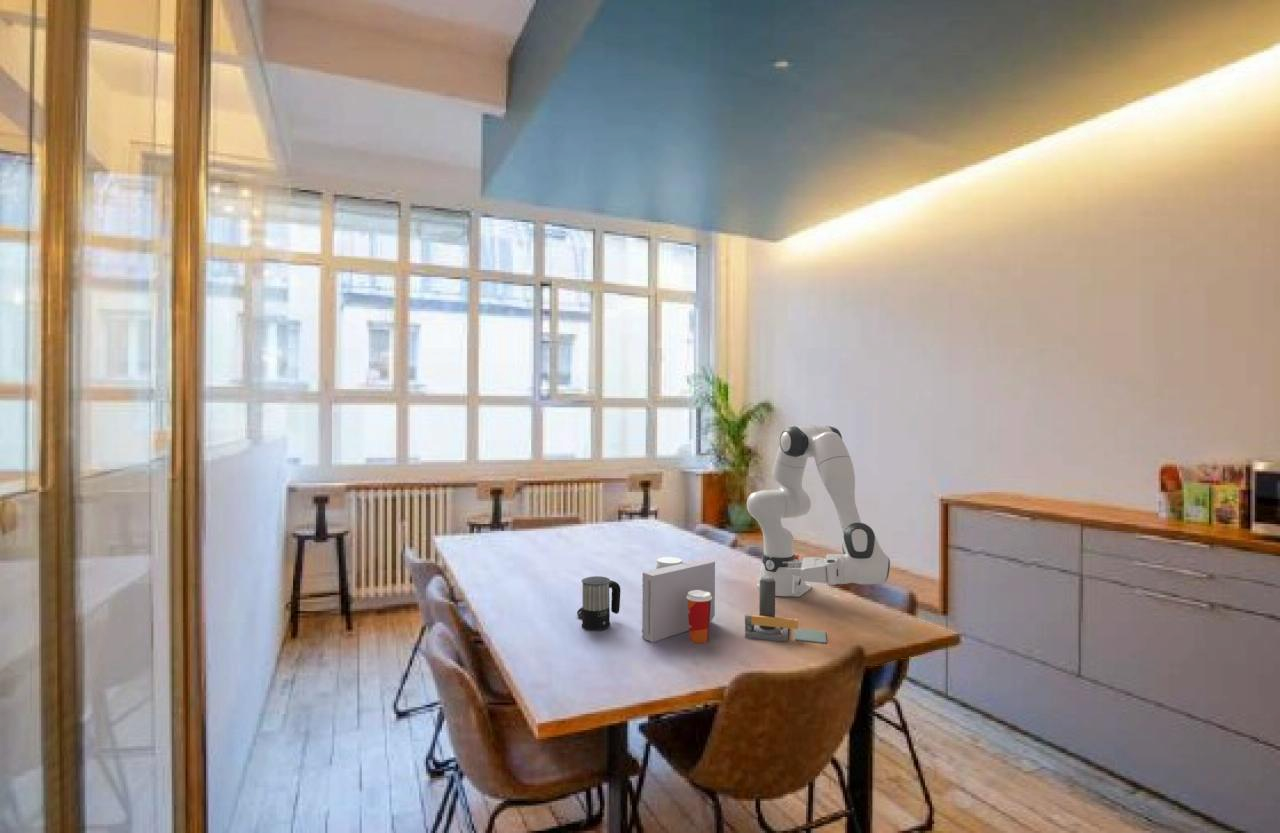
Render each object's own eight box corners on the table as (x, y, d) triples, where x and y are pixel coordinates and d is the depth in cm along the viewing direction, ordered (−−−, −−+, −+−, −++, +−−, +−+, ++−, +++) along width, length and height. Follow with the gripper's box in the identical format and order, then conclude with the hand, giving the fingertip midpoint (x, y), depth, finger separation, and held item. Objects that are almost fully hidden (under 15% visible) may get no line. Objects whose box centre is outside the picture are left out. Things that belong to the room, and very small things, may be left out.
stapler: (744, 624, 184) (744, 616, 184) (745, 622, 186) (745, 613, 186) (797, 629, 180) (797, 620, 180) (797, 627, 182) (797, 618, 182)
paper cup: (695, 633, 186) (695, 587, 186) (716, 639, 181) (716, 592, 181) (680, 640, 180) (681, 593, 180) (702, 646, 175) (702, 598, 175)
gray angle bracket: (748, 623, 194) (748, 619, 194) (788, 627, 191) (788, 622, 191) (745, 637, 182) (745, 632, 182) (787, 641, 179) (787, 637, 179)
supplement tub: (651, 601, 216) (651, 561, 216) (661, 594, 225) (661, 555, 225) (676, 605, 212) (677, 564, 212) (686, 598, 221) (686, 558, 221)
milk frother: (598, 633, 185) (598, 585, 185) (559, 623, 193) (559, 577, 193) (624, 620, 197) (624, 575, 197) (586, 611, 205) (586, 568, 205)
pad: (795, 629, 189) (795, 628, 189) (825, 632, 186) (825, 631, 186) (795, 640, 180) (795, 639, 180) (826, 643, 178) (826, 642, 178)
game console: (639, 637, 182) (639, 571, 182) (701, 617, 200) (702, 558, 200) (651, 642, 178) (652, 575, 178) (714, 622, 195) (715, 561, 195)
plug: (755, 626, 192) (755, 573, 191) (780, 629, 189) (781, 575, 189) (753, 635, 184) (753, 580, 184) (779, 638, 182) (780, 582, 182)
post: (745, 632, 186) (745, 622, 186) (751, 633, 185) (751, 623, 185) (744, 635, 184) (744, 624, 184) (751, 635, 184) (751, 625, 184)
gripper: (832, 552, 193) (788, 552, 198) (832, 564, 174) (783, 563, 178) (833, 572, 193) (789, 571, 197) (834, 586, 174) (785, 585, 178)
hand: (786, 568), depth 187 cm, fingers open, 8 cm apart
